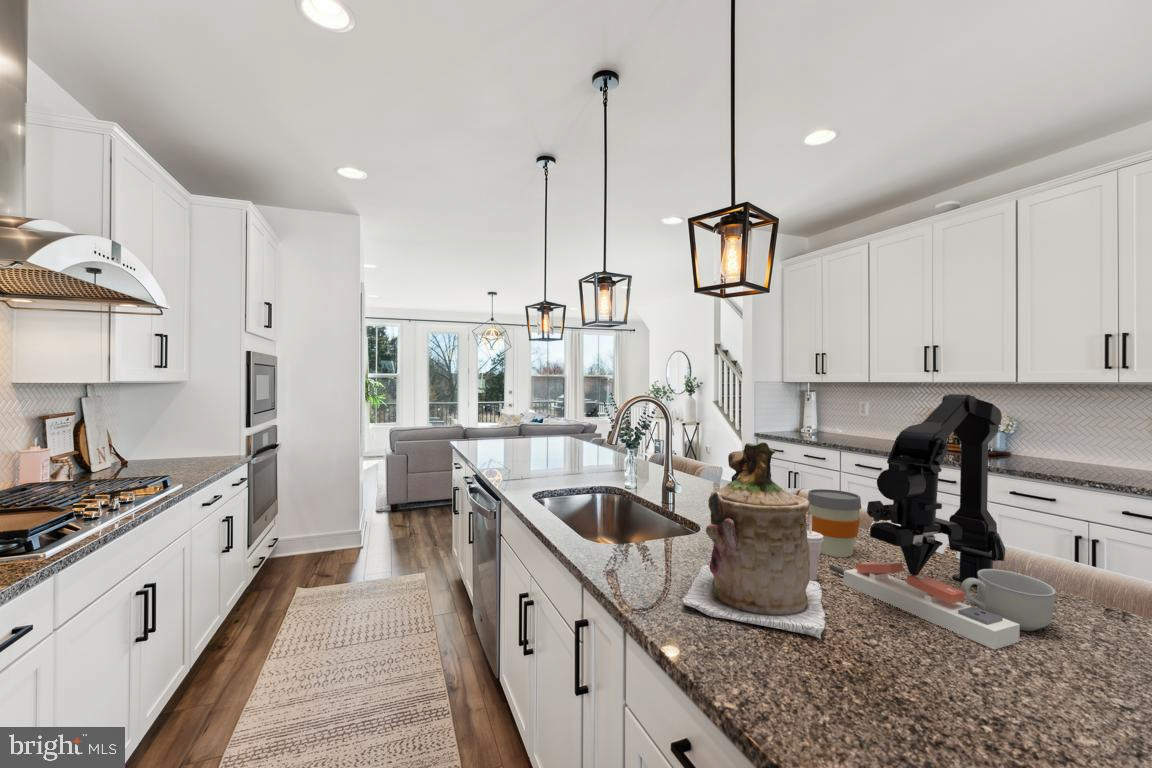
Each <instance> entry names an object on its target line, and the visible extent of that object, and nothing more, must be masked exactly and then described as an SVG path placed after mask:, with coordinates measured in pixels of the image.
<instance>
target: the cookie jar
mask: <svg viewBox="0 0 1152 768" xmlns="http://www.w3.org/2000/svg"><path fill="white" fill-rule="evenodd" d="M775 453H776V451H775V450H774V449H773V448H770V447H769V444H768V443H767V442H765V441H760V442H759V443H757V444H756V443H755V444H754V443H749V442H747V443H745V445H744V447H743V450H739V451H732V452H730V453H729V454H728V460H727V461H728V467H729V468H731V469H732V470H734V472H735V473H734V474H733V475H732V476H731V481H730V482H728V483H727V484H726V485H725V486H724V485H723V487H721V488H719V489H717V490H715V491H711V494H710V496H709V498H708V499H707V500H708V502H707V503H708V505H707V506H708V508H709V511H710V524H708V525H707V526H706V527H705V533H706V535H707V537H708V538H709V539H711V541H712V543H713V547H712V552H711V556H710V557H711V559H710V562H709V563H710V564H709V565H708V564H703V565H702V566H701V567H700V569H699V571H698V572H699V573H698V575H696V576H695V577H694V579H693V582H692V583H691V584H690V585H691V586H690V588H689V589H688V591H687V593H686V594H685V596H684V597H683V598H682V604H683V606H687V607H691V608H693V609H695V610H697V611H699V612H701V613H703V614H705V615H707V616H709V617H712V618H720V619H727V620H731V621H736V622H741V623H746V624H752V625H758V626H764V627H768V628H774V629H780V630H783V631H788V632H792V633H798V634H804V635H807V636H810V637H814V638H817V639H819V640H822V633H823V631H824V630H825V628H826V626H825V625H826V623H827V622H826V620H825V618H826V613H825V610H824V608H823V604H822V598H823V589H822V587H821V584H820V583H819V582H818V581H816V580H810V571H809V568H810V548H809V544H808V542H807V527H808V523H807V515H806V514H807V513H808V512H809V511H810V510H809V506H810V502H809V501H808V498H805V497H804V496H803V497H802V496H799V495H796V494H794V493H789V492H788V491H785V490H784V489H783V488H781V486H779V485H778V484H777V483H776V482H774V481H773V480H772V472H771V461H772V456H773V455H774V454H775Z"/></svg>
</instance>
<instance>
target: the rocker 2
mask: <svg viewBox="0 0 1152 768" xmlns="http://www.w3.org/2000/svg"><path fill="white" fill-rule="evenodd" d="M906 576H907V579H906V582H907V584H908V585H911V586H913V587H915V588H917V589H920V590H922V591H924V592H926V593H928V594H931V595H933V596H935V597H937V598H940V599H942V600H944V601H946V602H948V603H951V604H952V603H957V602H961V603H962V602H964V601H965V595H964V594H965V592H963V591H962V590H961V589H958V588H955V587H954V586H951V585H948V584H946V583H943V582H941V581H940V580H936V579H934V578H933V577H932V578H931V577H930V576H927V575H925V574H923V573H921V572H919V574H918V575H912V574H908V575H906Z"/></svg>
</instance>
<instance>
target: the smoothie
mask: <svg viewBox="0 0 1152 768" xmlns="http://www.w3.org/2000/svg"><path fill="white" fill-rule="evenodd" d="M808 522H809V527H808V528H809V529H808V530H807V529H806V530H807V542H808V544H809V548H810V568H809V571H810V581H816V580H817V578H818V569H819V563H820V558H821V557H820V556H821V553H820V551H821V545H822V542H823V541H824V540H823V535H822V534H820V533H817V532H813V531H812V515H809V516H808Z"/></svg>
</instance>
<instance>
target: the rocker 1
mask: <svg viewBox="0 0 1152 768" xmlns="http://www.w3.org/2000/svg"><path fill="white" fill-rule="evenodd" d="M855 569H857V572H868V573H888V574H895V573H902V572H905V569H904V565H903V563H902V562H886V561H885V562H883V561H882V562H881V561H880V562H877V561H873V562H872V561H869V562H867V561H866V562H860V563H856V564H855Z"/></svg>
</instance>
